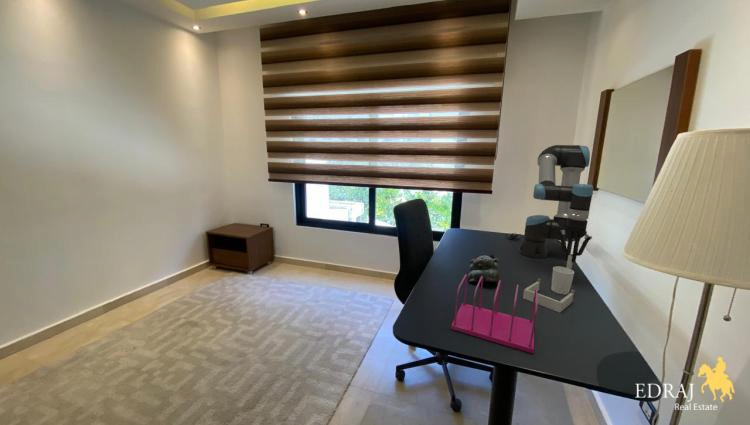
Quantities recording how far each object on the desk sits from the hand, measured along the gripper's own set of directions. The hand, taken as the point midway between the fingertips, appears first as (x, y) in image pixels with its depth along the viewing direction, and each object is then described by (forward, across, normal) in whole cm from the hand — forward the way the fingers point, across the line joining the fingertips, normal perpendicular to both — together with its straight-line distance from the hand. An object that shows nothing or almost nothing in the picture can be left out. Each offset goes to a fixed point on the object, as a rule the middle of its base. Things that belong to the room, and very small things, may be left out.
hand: (569, 268), depth 137 cm
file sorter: (+9, -2, -61) cm, 62 cm away
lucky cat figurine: (+8, -26, -31) cm, 41 cm away
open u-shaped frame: (+8, +1, -24) cm, 26 cm away
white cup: (+8, +1, -12) cm, 14 cm away
